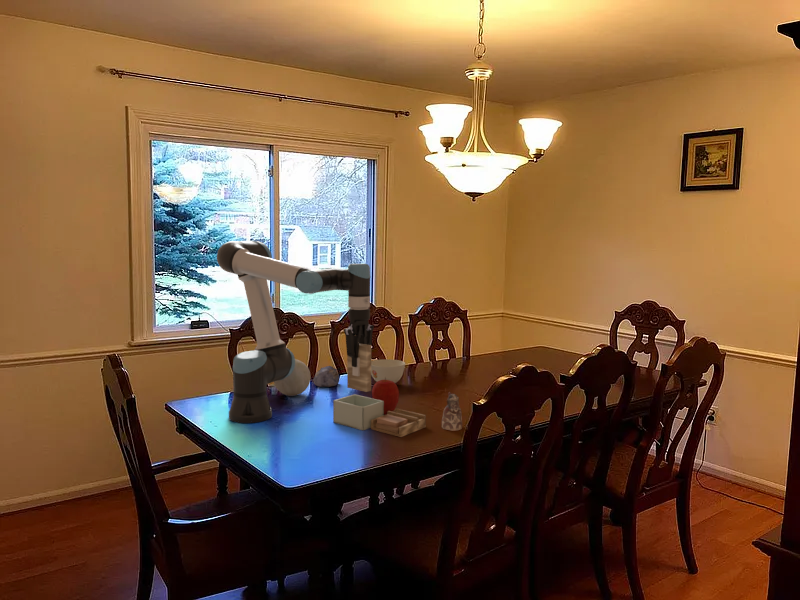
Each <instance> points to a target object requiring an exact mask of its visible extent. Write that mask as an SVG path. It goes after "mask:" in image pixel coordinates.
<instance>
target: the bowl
mask: <svg viewBox="0 0 800 600" xmlns="http://www.w3.org/2000/svg"><path fill="white" fill-rule="evenodd" d="M405 366H406V362H405V361H402V360H398V359H391V358H389V359H387V358H386V359H374V360H371V378H373V379H374V381H375V383H376V382H377V381H380V380H385V377H386V380H390V381H393V382H394V383H395V384H396V383H397V382H399V381H400V380H401V378H402V377H403V375H404V370H405V368H406V367H405Z"/></svg>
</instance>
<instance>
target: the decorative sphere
mask: <svg viewBox="0 0 800 600" xmlns="http://www.w3.org/2000/svg"><path fill="white" fill-rule="evenodd" d="M310 382H311V372H310V368H309V367H308V366H307V365H306V363H305V362H303V361H302V360H299V359H296V358H295V367H294V370H293V372H292V373H291V374H290V375H289V376H288V377H286V378H284V379H283V380H279V381H275V382H273V384H274V386H275V388H276V389H277V391H279V393H281V394H282V395H285V396H287V397H295V396H298V395H301V394H302V393H304V392H305V391H306V390H307V389H308V387H309V386H310Z"/></svg>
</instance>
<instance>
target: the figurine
mask: <svg viewBox="0 0 800 600" xmlns="http://www.w3.org/2000/svg"><path fill="white" fill-rule="evenodd" d="M447 395H448V397H447V399H446V406H445V407H444V408H443V412H442V418H441V428H442V429H443V430H445V431H447V430H448V431H453V432H454V431H459V430H462V429H463V418H462V415H463V413H462V409H461V407H460V402H459V399H460V398H459V396H458V395H457V394H456V393H452V392H451V391H449V392H448V393H447Z"/></svg>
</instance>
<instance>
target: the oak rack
mask: <svg viewBox="0 0 800 600" xmlns="http://www.w3.org/2000/svg"><path fill="white" fill-rule="evenodd" d="M388 414H389V415H393V416H397V417H401V418H405V419H407V423H409V424H406V425H404V426H401V427H399V433H395V432H391V431H387V430H383V429H380V428H376V423H377V418H375V419H373V420H371V428H370V430H373V431H377V432H380V433H384V434H388V435H391V436H395V437H399V438H402V437H405V436H408V435H410V434H412V433H415V432H417V431H420V430H422V429H424V428H425V429H426V427H427V426H426V425H427V424H426V423H427V417H426V414H423V413H418V412H415V411H409V410H405V409H402V408H397V407H396V408H395V410H394V411H387V415H388ZM384 416H385V415H384ZM381 417H382V416H381ZM378 418H380V417H378Z"/></svg>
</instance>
